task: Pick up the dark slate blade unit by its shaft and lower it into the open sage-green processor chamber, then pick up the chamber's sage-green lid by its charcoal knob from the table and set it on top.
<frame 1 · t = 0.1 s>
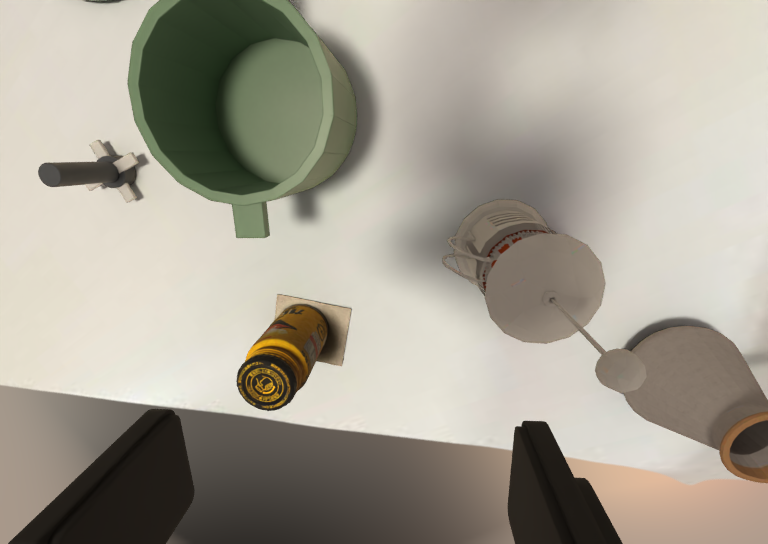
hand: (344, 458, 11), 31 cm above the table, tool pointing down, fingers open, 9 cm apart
condiment: (311, 329, 44), on the table
chamber: (283, 115, 38), on the table
french press: (492, 244, 40), on the table
coffee pot: (711, 352, 42), on the table
blade: (121, 171, 41), on the table
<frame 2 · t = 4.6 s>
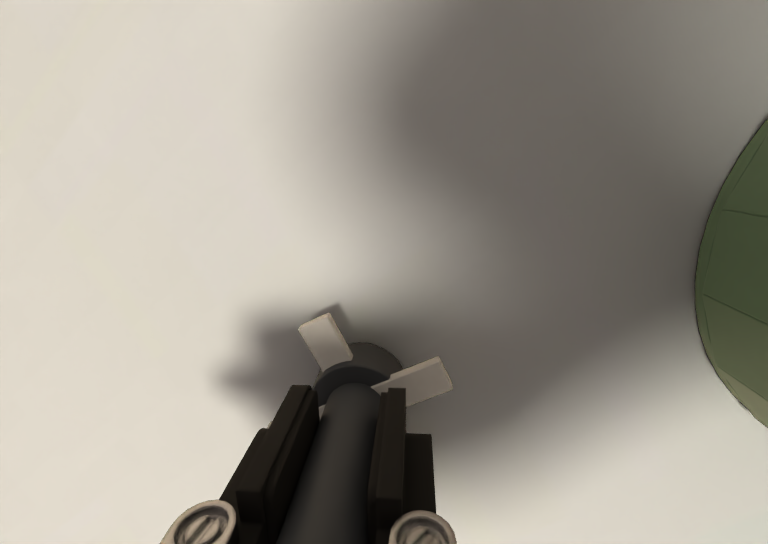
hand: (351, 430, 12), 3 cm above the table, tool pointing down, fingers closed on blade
blade: (362, 381, 14), on the table, touching gripper
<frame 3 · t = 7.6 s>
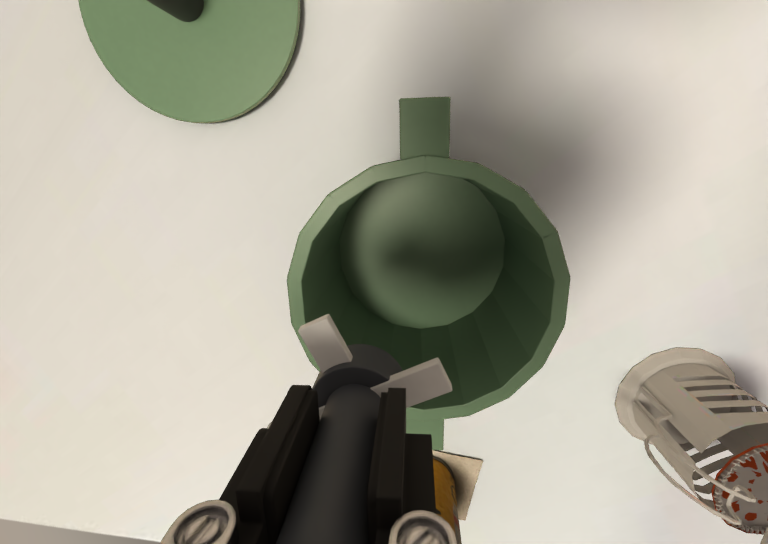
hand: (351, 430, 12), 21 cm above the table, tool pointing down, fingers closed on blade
lid: (190, 4, 27), point 1 cm above the table
condiment: (430, 479, 38), on the table
chamber: (420, 251, 31), on the table
french press: (663, 394, 33), on the table
blade: (362, 382, 14), point 18 cm above the table, touching gripper
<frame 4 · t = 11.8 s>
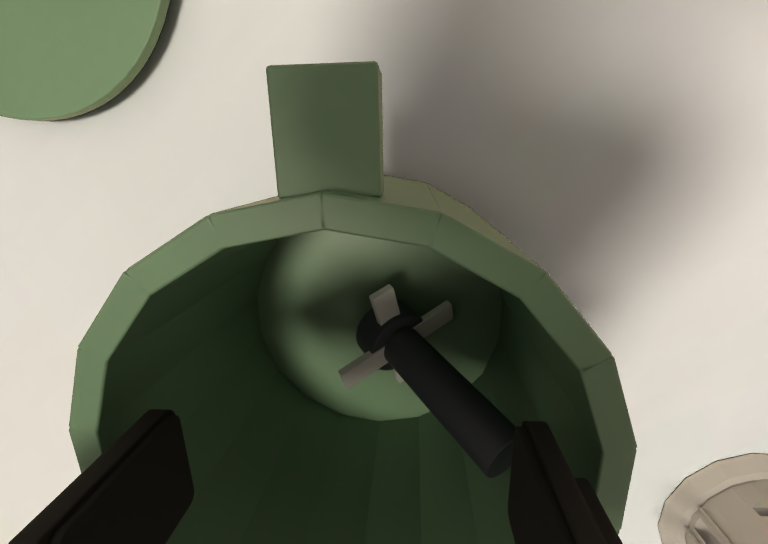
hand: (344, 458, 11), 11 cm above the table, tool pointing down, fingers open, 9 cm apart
chamber: (377, 312, 21), on the table
french press: (728, 514, 23), on the table
blade: (382, 325, 20), point 2 cm above the table, tilted 39°, touching chamber
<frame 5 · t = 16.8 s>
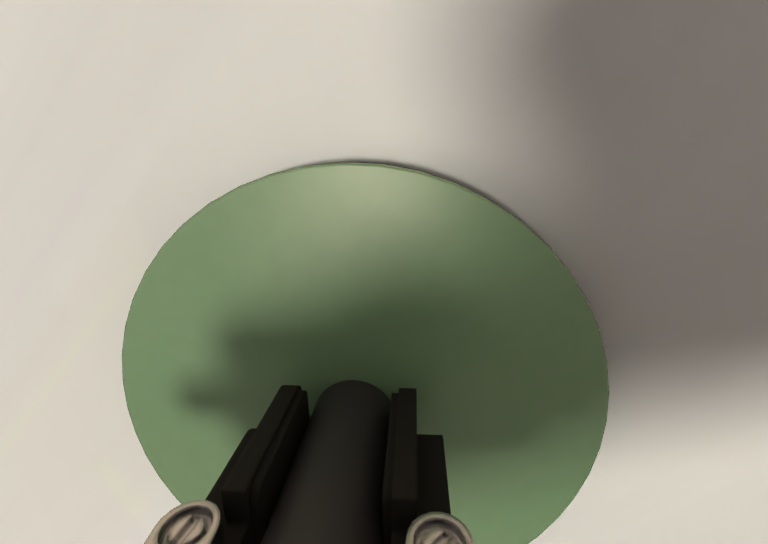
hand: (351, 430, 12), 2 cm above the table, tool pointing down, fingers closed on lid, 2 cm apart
lid: (357, 402, 13), point 1 cm above the table, touching gripper
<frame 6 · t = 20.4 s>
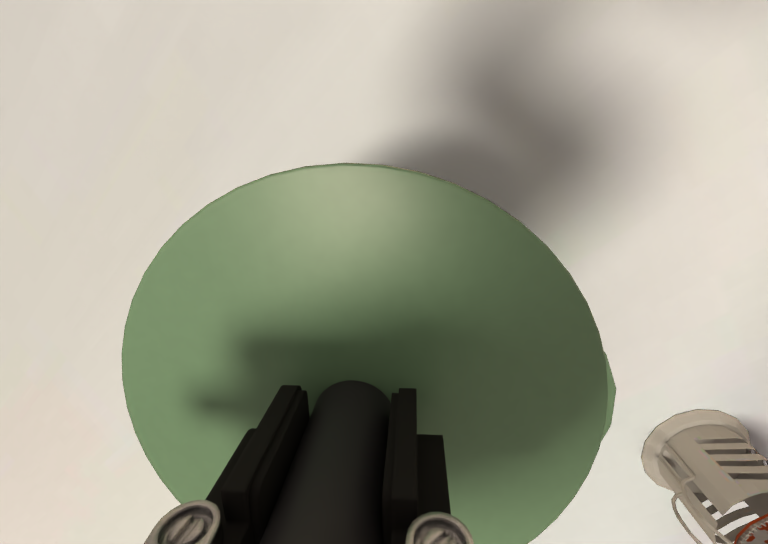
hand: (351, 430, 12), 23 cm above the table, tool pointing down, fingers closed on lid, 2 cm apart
lid: (357, 403, 13), point 22 cm above the table, touching gripper
chamber: (468, 328, 35), on the table
french press: (684, 449, 37), on the table
when the fingers open (13 cm above the table, at t = 23.9 s): lid stays where it is, resting on chamber.
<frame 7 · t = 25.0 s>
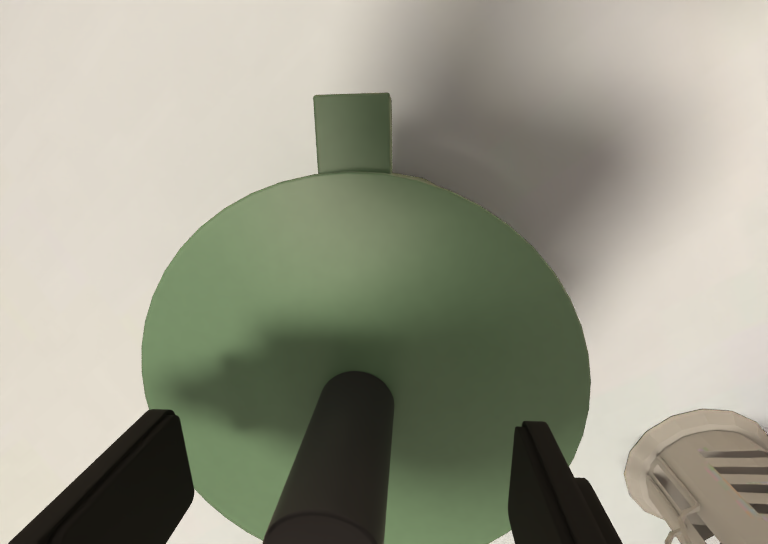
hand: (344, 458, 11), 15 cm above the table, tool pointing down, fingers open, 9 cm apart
lid: (359, 393, 14), point 11 cm above the table, touching chamber
chamber: (383, 288, 25), on the table
french press: (683, 463, 27), on the table
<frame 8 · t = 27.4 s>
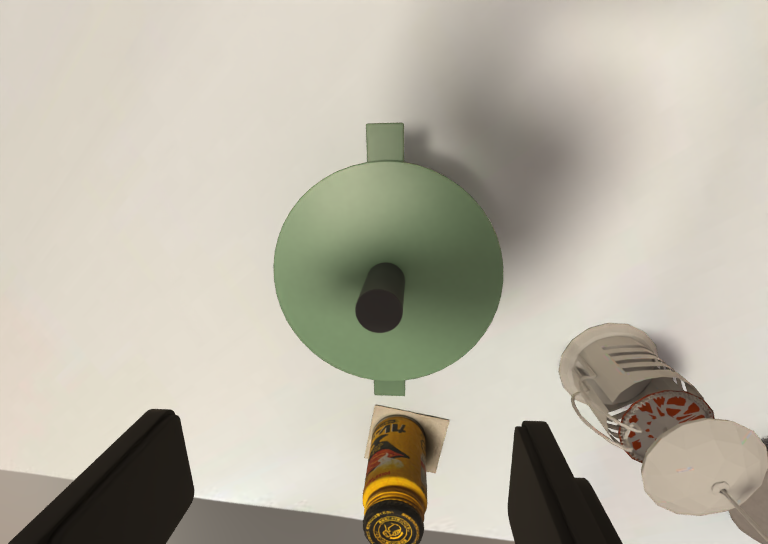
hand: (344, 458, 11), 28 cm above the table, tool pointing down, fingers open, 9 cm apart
lid: (386, 277, 27), point 11 cm above the table, touching chamber
condiment: (405, 437, 44), on the table
chamber: (394, 241, 38), on the table
french press: (598, 363, 40), on the table
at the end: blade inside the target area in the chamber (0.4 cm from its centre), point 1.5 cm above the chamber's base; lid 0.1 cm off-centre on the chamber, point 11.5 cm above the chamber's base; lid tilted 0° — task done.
